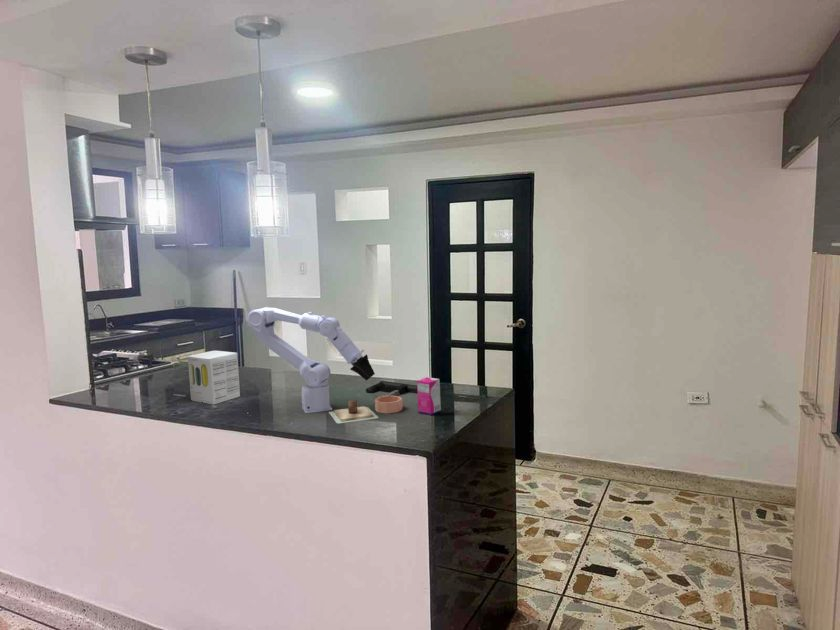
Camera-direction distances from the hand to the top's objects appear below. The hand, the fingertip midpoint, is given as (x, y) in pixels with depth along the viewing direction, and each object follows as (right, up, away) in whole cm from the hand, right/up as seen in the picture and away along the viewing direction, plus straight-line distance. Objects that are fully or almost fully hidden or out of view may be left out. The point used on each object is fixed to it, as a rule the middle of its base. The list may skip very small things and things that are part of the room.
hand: (370, 377), depth 192 cm
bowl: (+6, -12, +2) cm, 13 cm away
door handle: (+6, -10, +25) cm, 27 cm away
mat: (-6, -13, -4) cm, 14 cm away
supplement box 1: (-62, -11, +23) cm, 67 cm away
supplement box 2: (+20, -12, -1) cm, 24 cm away
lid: (-6, -12, -4) cm, 14 cm away
